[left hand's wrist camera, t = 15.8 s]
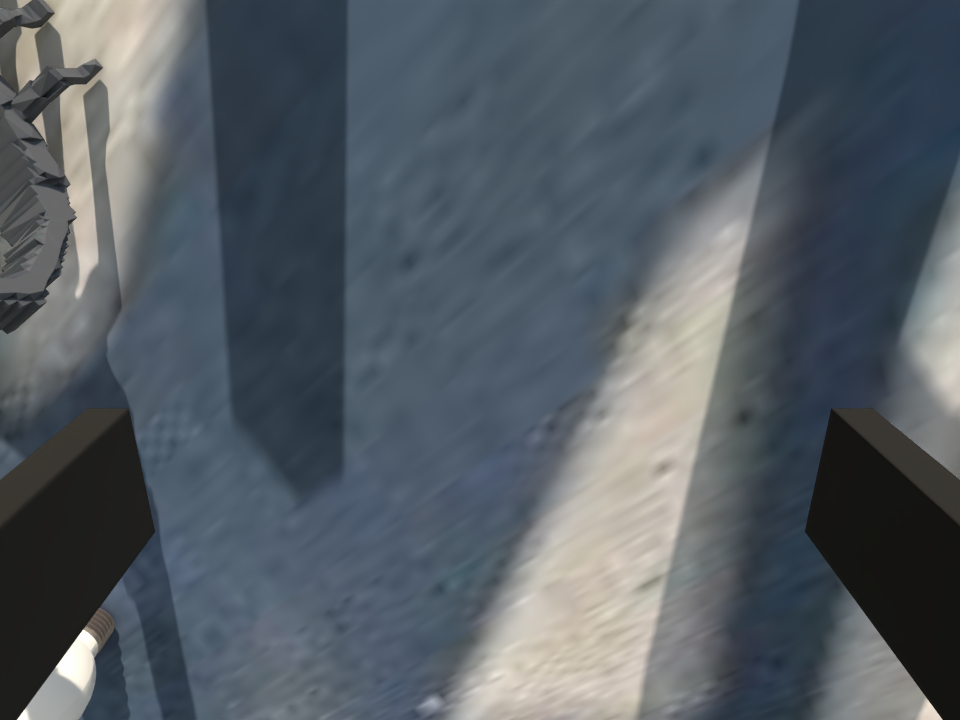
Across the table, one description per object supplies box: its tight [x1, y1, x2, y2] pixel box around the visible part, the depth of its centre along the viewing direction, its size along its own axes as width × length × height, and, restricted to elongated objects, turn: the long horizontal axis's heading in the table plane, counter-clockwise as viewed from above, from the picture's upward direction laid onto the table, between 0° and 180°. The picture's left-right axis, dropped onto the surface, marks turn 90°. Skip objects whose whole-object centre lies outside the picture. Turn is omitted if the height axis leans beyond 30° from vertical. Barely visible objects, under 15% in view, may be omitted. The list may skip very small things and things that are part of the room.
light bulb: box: [17, 608, 115, 720], centre depth 49 cm, size 7×7×11 cm
